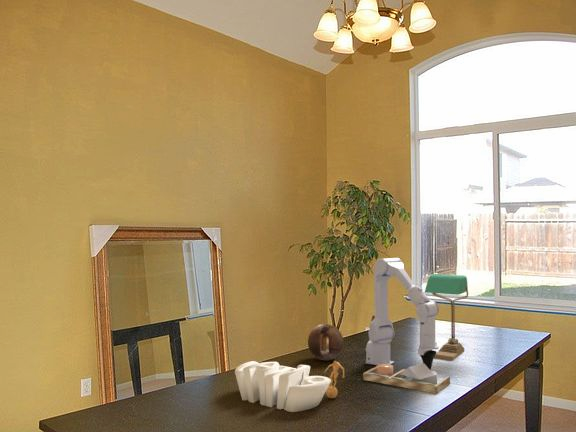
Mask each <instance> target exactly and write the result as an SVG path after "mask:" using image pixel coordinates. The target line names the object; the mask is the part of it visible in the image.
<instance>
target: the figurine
mask: <svg viewBox="0 0 576 432" xmlns="http://www.w3.org/2000/svg"><path fill="white" fill-rule="evenodd" d="M330 367H332V369H333V370H332V371H331V373H330V375H329V377H328V378H329V379H330V380H331V383H330V384H329V386H328V388H327V390H326V392H325V395H326V397H327V398H329V399H335V398H336V397H337V396H338V394H339V393H338V389H337V387H336V384H337V379H338V376H339V372H338V371H339V370H340V369H341V370H342V379H345V368H344V367H343V366H342V365H341V363H340V362H339V361H336V360H334V361H333V362H332V364H329V365H328V366H327V368H325V370H324V374H326V372H327V370H329V368H330Z"/></svg>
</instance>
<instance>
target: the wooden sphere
mask: <svg viewBox="0 0 576 432" xmlns="http://www.w3.org/2000/svg"><path fill="white" fill-rule="evenodd" d="M307 346H308V349H309V351H310V353H311V354H312V356H314V357H315V358H317V359H318V360H319V361H325V362H326V361H331V360H334V359H335V358H337V357H338V356H339V355H340V354H341V352H342V351H343V348H344V338H343V335H342V333H341V331H340V330H339V328H337V327H336V326H334V325H331V324H330V323H329V324H328V323H323V324H319V325H317V326H315V327H314V328H313V329H312V330H311V331H310V333H309V334H308V338H307Z"/></svg>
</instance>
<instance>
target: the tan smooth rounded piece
mask: <svg viewBox="0 0 576 432" xmlns="http://www.w3.org/2000/svg"><path fill="white" fill-rule="evenodd" d="M376 366H377V374H380V375H385V376H389V377H390V376H392V375H394V365H393V364H378V365H376Z"/></svg>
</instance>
